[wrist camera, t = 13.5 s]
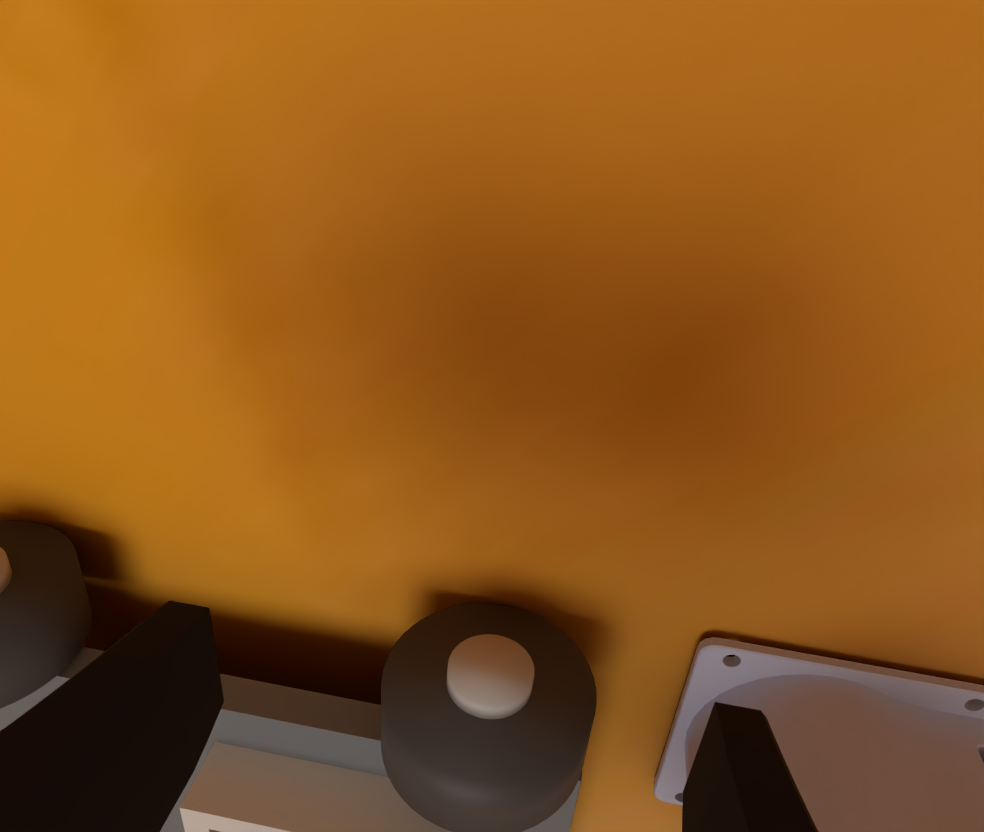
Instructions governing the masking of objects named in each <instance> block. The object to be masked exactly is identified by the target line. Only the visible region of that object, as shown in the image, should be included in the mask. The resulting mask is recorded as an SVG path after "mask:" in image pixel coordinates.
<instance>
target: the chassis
mask: <svg viewBox="0 0 984 832" xmlns="http://www.w3.org/2000/svg"><path fill="white" fill-rule="evenodd" d="M103 652H105V651H103V650H97V649H92V648H87V647H82V649H81V650H80V651H79V653H78V654H77V655H76V657H75V658H74V659H73V660H72V661H71V663H70V664H69V665H68V666H67V667H66V668H65V669H64V670H63V671H62V672H60V673H59V674H58V675H57V676H56V677H55V678H53V679H52V680H51V681H49V682H48V683H47V684H45V685H44V686H43V687H41V688H39V689H38V690H36V691H35V692H33V693H32V694H30V695H28V696H26V697H24V698H22V699H20V700H19V701H17V702H14V703H12V704H10V705H8V706H5V707H3V708H1V709H0V731H1V730H2V729H4V728H5V727H6V726H8V725H9V724H11V723H12V722H13V721H15V720H16V719H17V718H19V717H20V716H21V715H23V714H24V713H25V712H27V711H28V710H29V709H31V708H32V707H33V706H35V705H36V704H37V703H39V702H40V701H41V700H42V699H44V698H45V697H46V696H48V695H49V694H50V693H52V692H53V691H54V690H56V689H57V688H58V687H60V686H61V685H62V684H64V683H65V682H66V681H67V680H69V679H70V678H71V677H73V676H74V675H75V674H77V673H78V672H79V671H80V670H82V669H83V668H84V667H86V666H87V665H88V664H89V663H91V662H92V661H93V660H94V659H96V658H97V657H98V656H99V655H101V654H102V653H103ZM220 678H221V684H222V690H223V697H224V703H223V705H222V708H221V710H220V713H219V715H218V717H217V720H216V722H215V725H214V727H213V729H212V732H211V734H210V737H209V739H208V741H207V743H206V746H205V748H204V750H203V752H202V755H201V757H200V759H199V761H198V763H197V766H196V768H195V770H194V772H193V774H192V776H191V777H190V779H189V781H188V783H187V785H186V787H185V788H184V790H183V792H182V794H181V795H180V797H179V799H178V801H177V802H176V804H175V806H174V808H173V809H172V811H171V813H170V815H169V817H168V818H167V820H166V822H165V824H164V825H163V827H162V829H161V831H160V832H569V830H570V826H571V822H572V818H573V813H574V809H575V805H576V801H577V796H578V792H579V788H580V784H581V776H582V767H583V763H584V758H585V754H586V750H587V745H588V741H589V737H590V733H591V728H592V724H593V720H594V716H595V709H596V687H595V682H594V678H593V675H592V672H591V669H590V667H589V665H588V663H587V661H586V659H585V657H584V655H583V654H582V653H581V651H580V650H579V648H578V647H577V646H576V645H575V643H574V642H573V641H572V640H571V639H570V638H569V637H568V636H567V635H566V634H565V633H563V632H562V631H561V630H560V629H558V628H557V627H556V626H554V625H553V624H551V623H550V622H548V621H546V620H545V619H543V618H541V617H539V616H537V615H534V614H532V613H530V612H527V611H524V610H521V609H518V608H514V607H510V606H505V605H498V604H482V603H479V604H466V605H460V606H455V607H451V608H447V609H444V610H441V611H439V612H436V613H433V614H431V615H429V616H428V617H426V618H424V619H422V620H421V621H419V622H418V623H416V624H415V625H413V626H412V627H411V628H410V629H409V630H407V631H406V632H405V633H404V634H403V635H402V636H401V638H400V639H399V640H398V641H397V642H396V644H395V645H394V647H393V648H392V650H391V652H390V654H389V656H388V658H387V660H386V662H385V666H384V670H383V673H382V682H381V705H378V704H373V703H368V702H363V701H358V700H353V699H348V698H342V697H337V696H332V695H327V694H322V693H317V692H312V691H307V690H302V689H297V688H291V687H286V686H281V685H276V684H271V683H266V682H261V681H256V680H251V679H245V678H240V677H235V676H230V675H225V674H220Z"/></svg>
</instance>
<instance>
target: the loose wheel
mask: <svg viewBox="0 0 984 832" xmlns="http://www.w3.org/2000/svg"><path fill="white" fill-rule="evenodd" d="M91 624H92V609H91V605H90V601H89V597H88V594H87V590H86V586H85V582H84V579H83V575H82V571H81V568H80V564H79V560H78V556H77V553H76V550H75V548H74V546H73V544H72V542H71V541H70V540H69V539H68V538H67V537H66V536H65V535H64V534H62V533H61V532H59V531H57V530H56V529H54V528H52V527H49V526H46V525H43V524H39V523H35V522H28V521H18V520H1V521H0V709H1V708H3V707H5V706H8V705H10V704H12V703H14V702H17V701H19V700H20V699H22V698H24V697H26V696H28V695H30V694H32V693H33V692H35V691H36V690H38V689H39V688H41V687H43V686H44V685H45V684H47V683H48V682H49V681H51V680H52V679H53V678H55V677H56V676H57V675H58V674H59V673H60V672H62V671H63V670H64V669H65V668H66V667H67V666H68V665H69V664H70V663H71V661H72V660H73V659H74V658H75V657H76V655H77V654H78V653H79V651H80V650H81V649H82V647H83V645H84V643H85V641H86V640H87V638H88V635H89V632H90V629H91Z"/></svg>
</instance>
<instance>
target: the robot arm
mask: <svg viewBox="0 0 984 832" xmlns="http://www.w3.org/2000/svg"><path fill="white" fill-rule="evenodd" d="M727 655H736V656H734V657H727ZM972 699H973V700H972ZM223 703H224V697H223V690H222V684H221V678H220V672H219V665H218V659H217V653H216V647H215V641H214V634H213V628H212V622H211V616H210V609H209V608H207V607H201V606H196V605H191V604H185V603H180V602H174V601H168V602H167V603H166V604H164V605H163V606H162V607H160V608H159V609H158V610H156V611H155V612H154V613H152V614H151V615H150V616H149V617H147V618H146V619H145V620H144V621H142V622H141V623H140V624H139V625H137V626H136V627H135V628H133V629H132V630H131V631H130V632H128V633H127V634H126V635H125V636H123V637H122V638H121V639H120V640H118V641H117V642H116V643H115V644H113V645H112V646H111V647H110V648H108V649H107V650H106V651H105V652H103V653H102V654H101V655H99V656H98V657H97V658H96V659H94V660H93V661H92V662H91V663H89V664H88V665H87V666H86V667H84V668H83V669H82V670H80V671H79V672H78V673H77V674H75V675H74V676H73V677H71V678H70V679H69V680H67V681H66V682H65V683H64V684H62V685H61V686H60V687H58V688H57V689H56V690H54V691H53V692H52V693H50V694H49V695H48V696H46V697H45V698H44V699H42V700H41V701H40V702H39V703H37V704H36V705H35V706H33V707H32V708H31V709H29V710H28V711H27V712H25V713H24V714H23V715H21V716H20V717H19V718H17V719H16V720H15V721H13V722H12V723H11V724H9V725H8V726H6V727H5V728H4V729H2V730H1V731H0V832H160V831H161V829H162V827H163V825H164V824H165V822H166V820H167V818H168V817H169V815H170V813H171V811H172V809H173V808H174V806H175V804H176V802H177V801H178V799H179V797H180V795H181V794H182V792H183V790H184V788H185V787H186V785H187V783H188V781H189V779H190V777H191V776H192V774H193V772H194V770H195V768H196V766H197V763H198V761H199V759H200V757H201V755H202V752H203V750H204V748H205V746H206V743H207V741H208V739H209V737H210V734H211V732H212V729H213V727H214V725H215V722H216V720H217V717H218V715H219V713H220V710H221V708H222V705H223ZM654 795H655V796H656V798H658V799H659V800H661V801H663V802H667V803H672V804H677V805H682V806H683V816H682V832H984V685H979V684H974V683H968V682H963V681H957V680H951V679H946V678H940V677H935V676H929V675H924V674H918V673H912V672H907V671H901V670H896V669H890V668H884V667H879V666H873V665H868V664H862V663H857V662H851V661H845V660H840V659H834V658H829V657H823V656H817V655H812V654H806V653H801V652H795V651H790V650H784V649H778V648H773V647H767V646H762V645H756V644H751V643H745V642H739V641H734V640H728V639H723V638H716V637H711V638H706V639H704V640H702V641H701V642H700V643H699V644H698V646H697V649H696V652H695V655H694V658H693V662H692V665H691V668H690V671H689V674H688V677H687V680H686V683H685V687H684V690H683V693H682V696H681V699H680V702H679V705H678V708H677V711H676V715H675V718H674V721H673V724H672V727H671V730H670V733H669V736H668V740H667V743H666V746H665V749H664V752H663V755H662V758H661V761H660V765H659V768H658V771H657V774H656V777H655V780H654Z"/></svg>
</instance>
